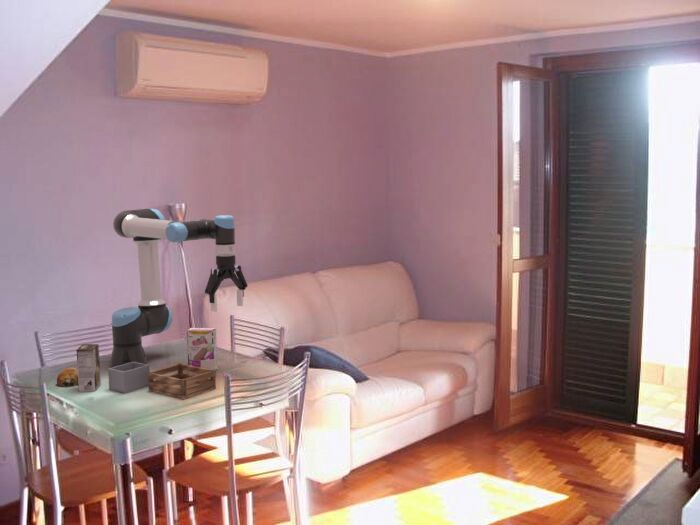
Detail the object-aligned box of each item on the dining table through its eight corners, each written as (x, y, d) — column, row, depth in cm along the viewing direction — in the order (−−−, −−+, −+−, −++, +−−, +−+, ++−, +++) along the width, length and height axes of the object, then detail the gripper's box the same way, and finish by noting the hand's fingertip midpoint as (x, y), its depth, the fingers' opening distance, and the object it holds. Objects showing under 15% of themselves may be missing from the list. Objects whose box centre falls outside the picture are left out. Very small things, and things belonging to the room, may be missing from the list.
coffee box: (84, 385, 301) (81, 344, 299) (101, 384, 301) (99, 343, 299) (78, 392, 292) (75, 349, 290) (95, 391, 292) (93, 349, 290)
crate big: (148, 390, 292) (147, 372, 291) (180, 380, 305) (180, 363, 304) (183, 399, 281) (183, 380, 280) (215, 388, 294) (215, 370, 293)
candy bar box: (187, 369, 321) (186, 330, 319) (191, 366, 326) (189, 327, 324) (214, 369, 320) (213, 330, 318) (217, 366, 325) (216, 327, 323)
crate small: (109, 389, 295) (108, 368, 293) (134, 381, 304) (133, 361, 303) (124, 393, 289) (123, 372, 288) (150, 385, 299) (149, 364, 298)
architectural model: (199, 376, 312) (198, 358, 311) (217, 374, 314) (216, 356, 313) (200, 379, 309) (200, 360, 308) (218, 377, 311) (217, 358, 310)
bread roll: (87, 391, 305) (91, 371, 307) (70, 386, 296) (75, 366, 298) (66, 389, 308) (70, 369, 311) (49, 384, 299) (54, 364, 301)
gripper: (207, 259, 294) (209, 314, 297) (255, 252, 313) (256, 304, 316) (194, 257, 299) (196, 312, 301) (242, 251, 318) (244, 302, 321)
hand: (227, 308), depth 309 cm, fingers open, 13 cm apart
